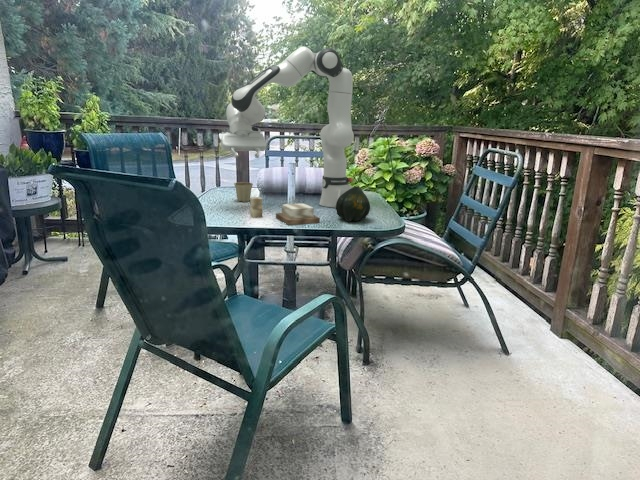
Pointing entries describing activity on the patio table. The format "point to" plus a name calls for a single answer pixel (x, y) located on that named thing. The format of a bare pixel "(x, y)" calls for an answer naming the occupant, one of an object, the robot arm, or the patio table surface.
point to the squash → (353, 205)
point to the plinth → (297, 221)
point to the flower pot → (243, 191)
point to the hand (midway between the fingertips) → (247, 157)
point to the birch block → (256, 207)
